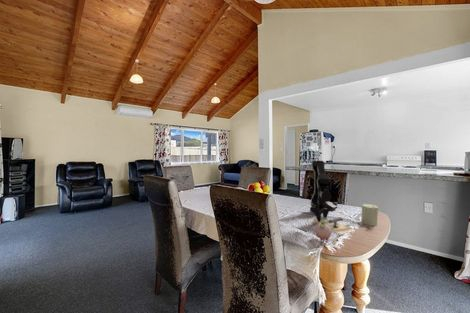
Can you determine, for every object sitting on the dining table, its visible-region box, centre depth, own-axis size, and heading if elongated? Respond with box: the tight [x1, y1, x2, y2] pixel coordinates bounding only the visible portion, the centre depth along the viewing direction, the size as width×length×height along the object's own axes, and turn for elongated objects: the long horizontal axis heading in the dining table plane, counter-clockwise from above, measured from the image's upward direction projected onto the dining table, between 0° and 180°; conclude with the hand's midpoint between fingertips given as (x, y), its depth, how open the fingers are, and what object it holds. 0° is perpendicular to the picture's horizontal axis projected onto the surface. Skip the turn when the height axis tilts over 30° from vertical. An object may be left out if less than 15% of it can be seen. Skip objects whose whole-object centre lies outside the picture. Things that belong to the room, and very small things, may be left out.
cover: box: [313, 215, 331, 224], centre depth 141 cm, size 8×6×3 cm
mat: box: [292, 225, 307, 232], centre depth 137 cm, size 10×10×1 cm
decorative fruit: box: [314, 222, 333, 241], centre depth 120 cm, size 9×8×10 cm
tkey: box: [329, 216, 344, 227], centre depth 134 cm, size 11×2×5 cm, turn 121°
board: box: [308, 220, 355, 235], centre depth 137 cm, size 22×14×2 cm, turn 36°
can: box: [360, 203, 379, 227], centre depth 145 cm, size 9×9×12 cm
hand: (321, 220), depth 141 cm, fingers closed on cover, 6 cm apart
